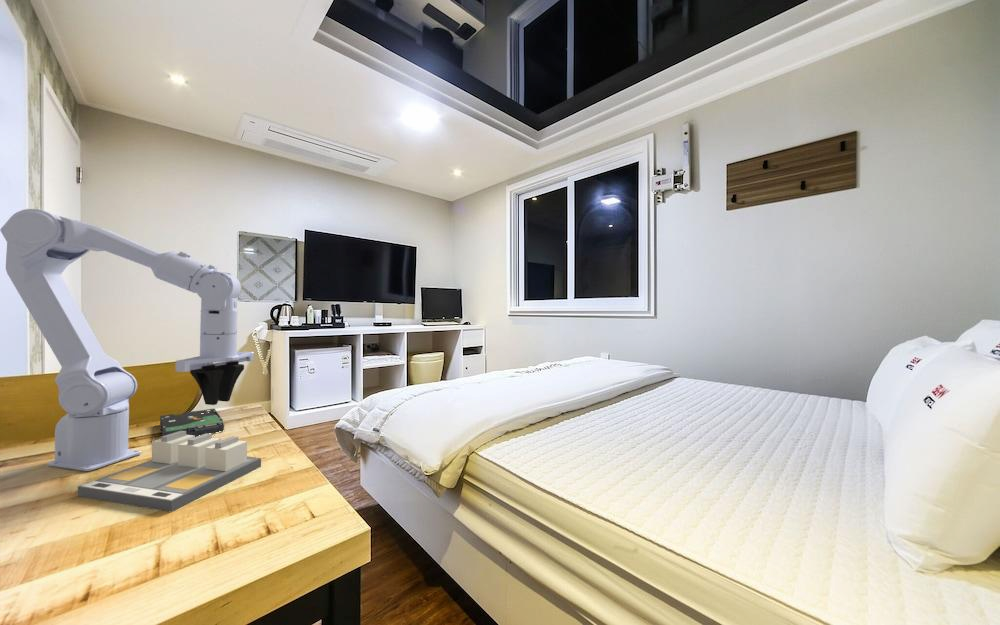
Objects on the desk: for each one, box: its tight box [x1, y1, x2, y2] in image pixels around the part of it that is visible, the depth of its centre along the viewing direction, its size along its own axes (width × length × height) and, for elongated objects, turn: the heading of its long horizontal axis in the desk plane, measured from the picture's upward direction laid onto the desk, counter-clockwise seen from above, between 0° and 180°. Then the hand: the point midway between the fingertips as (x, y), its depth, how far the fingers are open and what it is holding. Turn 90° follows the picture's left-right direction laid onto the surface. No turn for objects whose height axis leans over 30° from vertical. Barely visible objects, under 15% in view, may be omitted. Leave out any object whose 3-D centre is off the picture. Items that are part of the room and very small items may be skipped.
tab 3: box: [205, 435, 248, 471], centre depth 62 cm, size 4×4×4 cm
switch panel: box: [77, 455, 262, 513], centre depth 60 cm, size 17×15×2 cm
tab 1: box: [151, 431, 195, 464], centre depth 64 cm, size 4×4×4 cm
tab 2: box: [178, 433, 222, 468], centre depth 63 cm, size 4×4×4 cm
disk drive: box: [159, 408, 225, 437], centre depth 84 cm, size 10×3×15 cm
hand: (217, 402), depth 72 cm, fingers open, 2 cm apart
